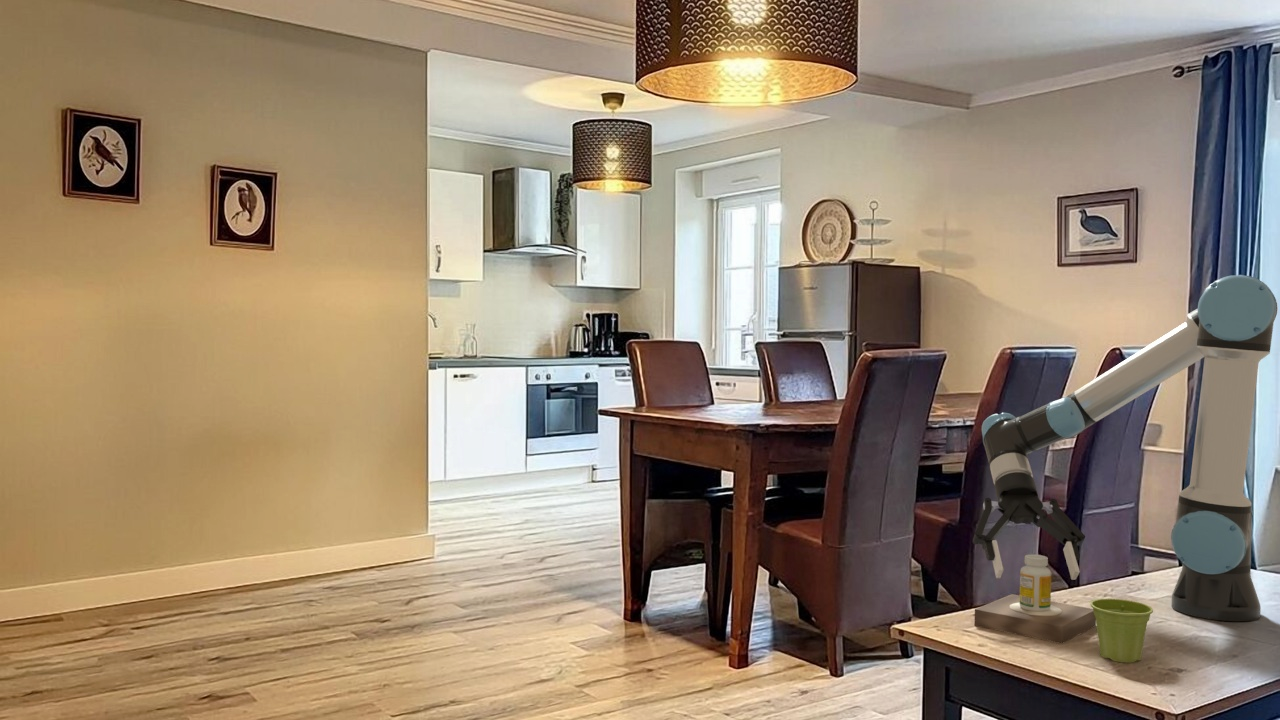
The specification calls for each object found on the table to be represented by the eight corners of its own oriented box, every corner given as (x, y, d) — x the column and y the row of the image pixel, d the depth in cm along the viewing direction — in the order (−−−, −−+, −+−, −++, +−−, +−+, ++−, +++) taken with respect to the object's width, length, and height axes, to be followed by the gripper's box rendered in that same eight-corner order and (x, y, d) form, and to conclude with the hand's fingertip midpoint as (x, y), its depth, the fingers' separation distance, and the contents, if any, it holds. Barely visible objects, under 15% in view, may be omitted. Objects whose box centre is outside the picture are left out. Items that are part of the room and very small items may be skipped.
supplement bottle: (1020, 610, 187) (1021, 558, 187) (1018, 603, 192) (1019, 552, 192) (1052, 613, 186) (1052, 560, 185) (1049, 605, 191) (1050, 554, 191)
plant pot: (1159, 668, 164) (1160, 614, 164) (1096, 664, 166) (1097, 611, 166) (1143, 651, 174) (1143, 600, 173) (1083, 647, 176) (1084, 597, 175)
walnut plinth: (1095, 625, 189) (1096, 608, 189) (1062, 643, 178) (1062, 625, 178) (1011, 609, 200) (1011, 593, 200) (974, 625, 189) (974, 608, 189)
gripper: (1073, 494, 204) (1101, 587, 189) (946, 492, 206) (964, 584, 191) (1083, 471, 199) (1113, 565, 184) (953, 469, 200) (972, 562, 186)
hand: (1037, 575), depth 187 cm, fingers open, 13 cm apart
